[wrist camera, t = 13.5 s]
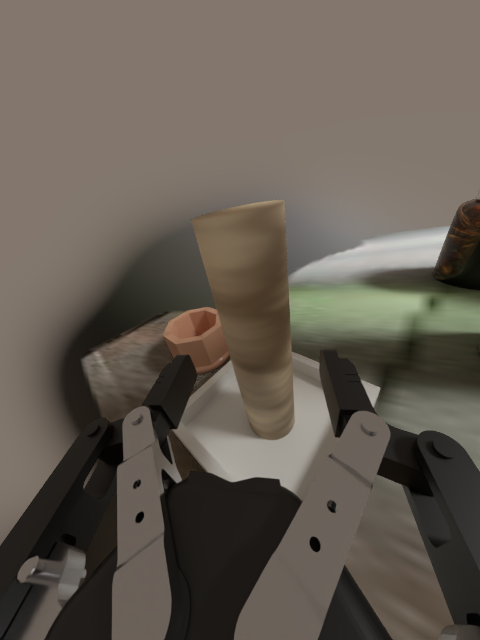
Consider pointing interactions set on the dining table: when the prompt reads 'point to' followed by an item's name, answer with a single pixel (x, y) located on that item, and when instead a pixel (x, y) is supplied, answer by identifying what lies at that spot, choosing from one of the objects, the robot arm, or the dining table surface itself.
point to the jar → (462, 248)
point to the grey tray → (248, 448)
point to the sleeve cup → (198, 338)
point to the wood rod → (253, 307)
